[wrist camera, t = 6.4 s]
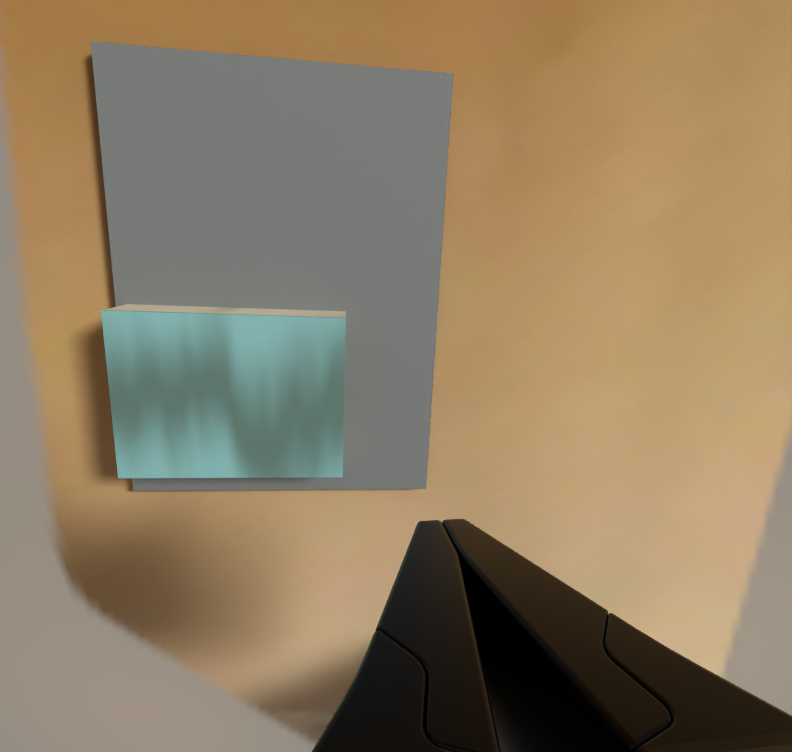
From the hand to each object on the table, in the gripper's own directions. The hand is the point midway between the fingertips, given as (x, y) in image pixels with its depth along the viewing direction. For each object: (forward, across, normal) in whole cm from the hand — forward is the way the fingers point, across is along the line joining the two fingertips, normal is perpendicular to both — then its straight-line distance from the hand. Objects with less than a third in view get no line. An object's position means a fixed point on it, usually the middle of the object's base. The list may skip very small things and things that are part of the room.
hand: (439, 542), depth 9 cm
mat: (+12, +4, -4) cm, 13 cm away
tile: (+10, +2, 0) cm, 10 cm away
